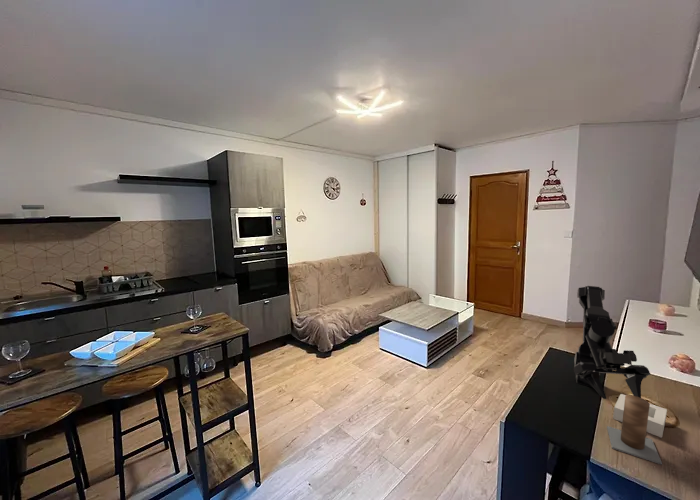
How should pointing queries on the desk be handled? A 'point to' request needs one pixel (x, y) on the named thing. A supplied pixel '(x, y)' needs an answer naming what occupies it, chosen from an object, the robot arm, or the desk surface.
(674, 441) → the desk surface
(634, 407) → the peg
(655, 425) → the frame
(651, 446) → the pad
